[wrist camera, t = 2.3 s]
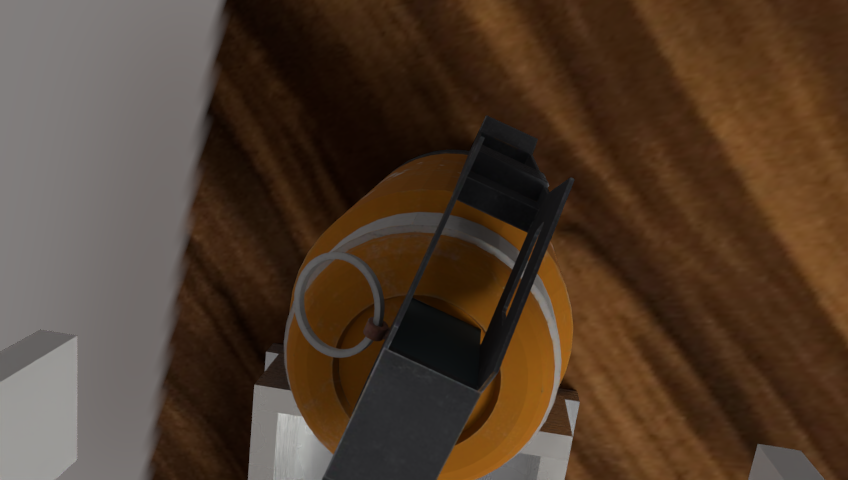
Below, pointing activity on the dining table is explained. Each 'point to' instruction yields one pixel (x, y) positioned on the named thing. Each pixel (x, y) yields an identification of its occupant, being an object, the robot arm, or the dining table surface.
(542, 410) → the canister
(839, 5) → the dining table surface
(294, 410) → the grey holder tray
